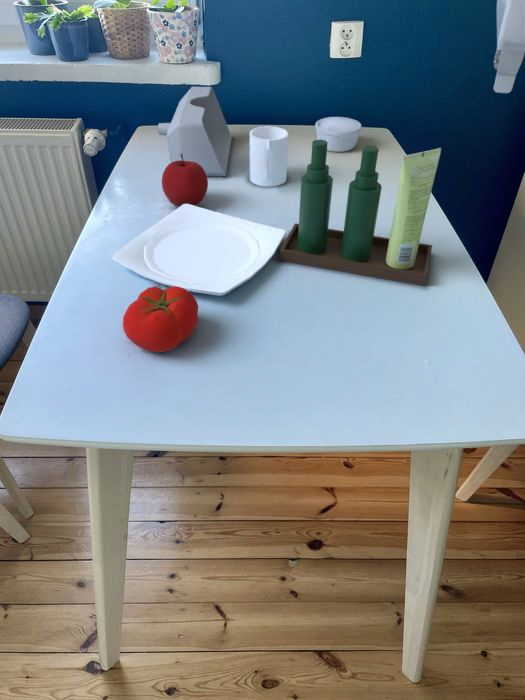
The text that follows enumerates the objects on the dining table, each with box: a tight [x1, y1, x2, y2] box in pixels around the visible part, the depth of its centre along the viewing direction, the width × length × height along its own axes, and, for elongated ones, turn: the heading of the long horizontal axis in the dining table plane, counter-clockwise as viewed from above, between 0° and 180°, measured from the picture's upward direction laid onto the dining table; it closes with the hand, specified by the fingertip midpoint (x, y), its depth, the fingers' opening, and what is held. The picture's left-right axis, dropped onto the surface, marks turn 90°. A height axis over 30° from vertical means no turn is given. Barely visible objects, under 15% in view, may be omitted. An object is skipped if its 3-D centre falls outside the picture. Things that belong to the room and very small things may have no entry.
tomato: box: [122, 285, 199, 353], centre depth 78 cm, size 10×11×6 cm
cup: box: [249, 125, 289, 188], centre depth 116 cm, size 8×12×10 cm
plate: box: [111, 204, 287, 296], centre depth 95 cm, size 24×24×3 cm
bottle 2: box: [341, 145, 382, 262], centre depth 89 cm, size 5×5×19 cm
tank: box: [157, 86, 232, 177], centre depth 126 cm, size 25×16×12 cm, turn 179°
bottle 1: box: [297, 139, 334, 255], centre depth 91 cm, size 5×5×19 cm
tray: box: [279, 222, 433, 287], centre depth 95 cm, size 25×10×2 cm, turn 72°
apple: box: [161, 154, 209, 208], centre depth 108 cm, size 9×9×10 cm
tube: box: [386, 147, 442, 270], centre depth 87 cm, size 6×5×20 cm
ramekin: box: [314, 116, 362, 153], centre depth 134 cm, size 11×11×5 cm
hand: (501, 79), depth 59 cm, fingers open, 8 cm apart
